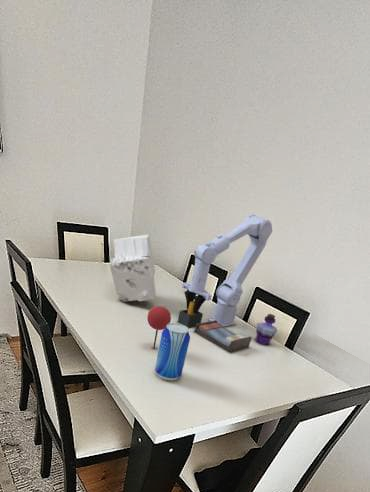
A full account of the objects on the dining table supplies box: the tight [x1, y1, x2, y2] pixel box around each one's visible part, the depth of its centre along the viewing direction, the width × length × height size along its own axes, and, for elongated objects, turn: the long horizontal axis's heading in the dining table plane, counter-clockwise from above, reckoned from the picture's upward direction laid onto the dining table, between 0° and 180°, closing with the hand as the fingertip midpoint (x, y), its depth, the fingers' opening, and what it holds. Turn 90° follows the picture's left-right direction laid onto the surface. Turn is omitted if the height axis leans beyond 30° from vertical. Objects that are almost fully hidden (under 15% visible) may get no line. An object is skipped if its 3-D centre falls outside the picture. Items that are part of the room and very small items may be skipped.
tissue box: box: [109, 233, 157, 303], centre depth 163 cm, size 20×16×25 cm
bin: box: [177, 309, 204, 328], centre depth 158 cm, size 8×6×5 cm
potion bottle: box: [255, 313, 279, 346], centre depth 156 cm, size 9×9×12 cm
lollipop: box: [146, 305, 172, 350], centre depth 129 cm, size 8×8×15 cm
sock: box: [187, 301, 195, 315], centre depth 155 cm, size 3×3×5 cm
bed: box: [194, 320, 252, 354], centre depth 151 cm, size 12×19×4 cm, turn 44°
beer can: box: [154, 322, 191, 382], centre depth 115 cm, size 8×8×16 cm
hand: (192, 310), depth 156 cm, fingers closed on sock, 3 cm apart
